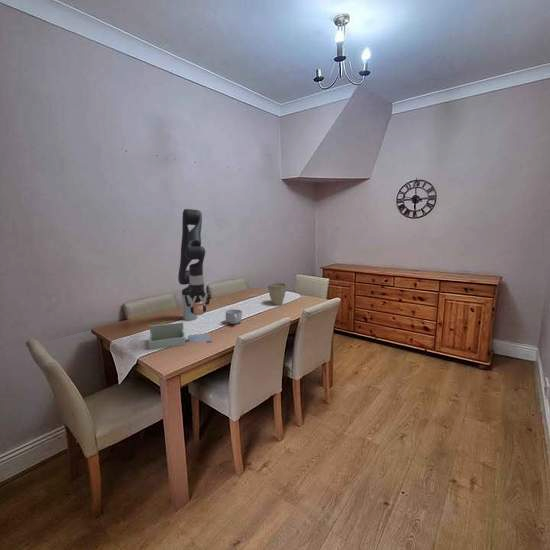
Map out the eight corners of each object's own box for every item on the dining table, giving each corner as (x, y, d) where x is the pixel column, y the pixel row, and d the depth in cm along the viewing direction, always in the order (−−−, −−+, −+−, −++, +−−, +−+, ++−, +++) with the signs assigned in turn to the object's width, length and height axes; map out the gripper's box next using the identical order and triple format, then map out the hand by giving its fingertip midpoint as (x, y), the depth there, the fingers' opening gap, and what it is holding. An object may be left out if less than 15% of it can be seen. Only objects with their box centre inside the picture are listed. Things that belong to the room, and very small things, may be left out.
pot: (192, 312, 171) (191, 300, 170) (203, 311, 173) (203, 299, 172) (193, 316, 165) (192, 303, 164) (205, 314, 167) (204, 302, 166)
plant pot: (287, 301, 249) (287, 282, 246) (285, 306, 235) (285, 286, 232) (269, 300, 251) (269, 282, 248) (266, 306, 237) (266, 286, 234)
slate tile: (187, 337, 176) (187, 335, 175) (208, 334, 180) (208, 332, 179) (189, 345, 164) (189, 343, 164) (211, 342, 168) (211, 340, 168)
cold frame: (150, 341, 170) (149, 325, 168) (183, 337, 176) (182, 322, 174) (149, 351, 157) (148, 334, 156) (185, 346, 163) (184, 330, 161)
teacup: (226, 320, 205) (226, 308, 203) (242, 319, 206) (242, 308, 204) (224, 327, 191) (224, 315, 190) (241, 326, 192) (241, 314, 191)
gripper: (209, 280, 172) (210, 309, 175) (182, 282, 167) (184, 312, 170) (211, 283, 165) (212, 313, 168) (183, 285, 160) (185, 316, 163)
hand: (198, 312), depth 169 cm, fingers closed on pot, 5 cm apart
